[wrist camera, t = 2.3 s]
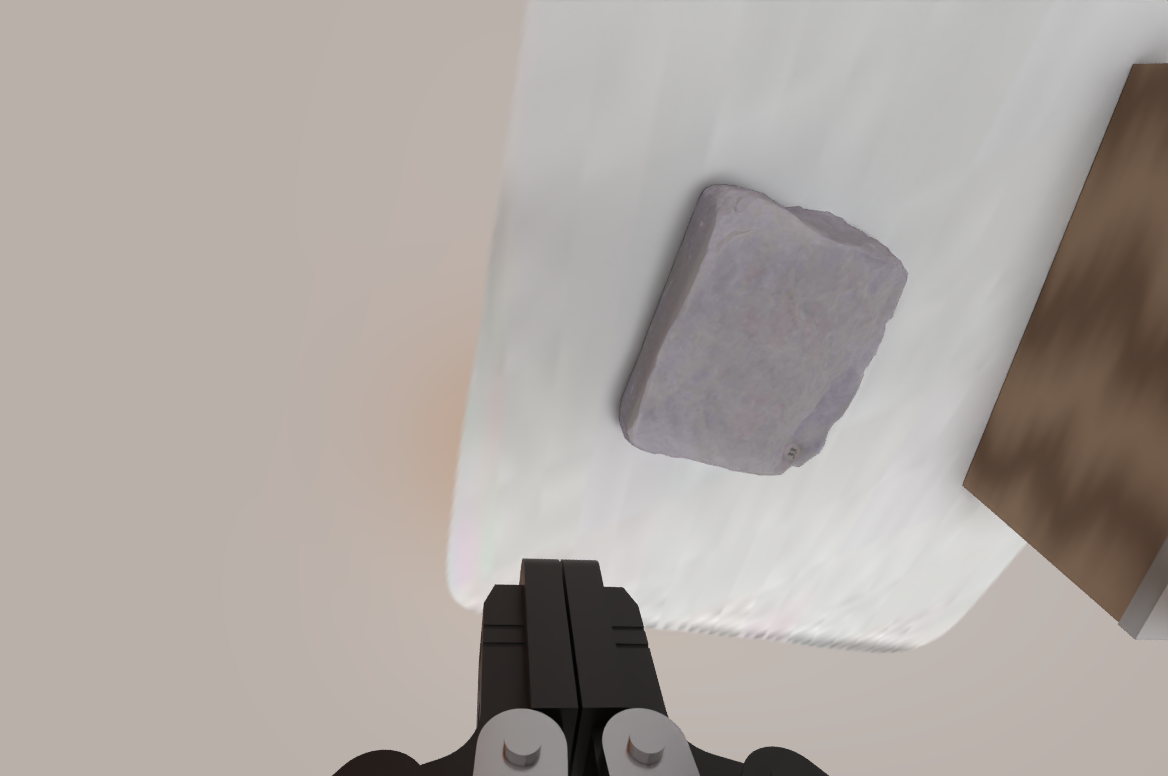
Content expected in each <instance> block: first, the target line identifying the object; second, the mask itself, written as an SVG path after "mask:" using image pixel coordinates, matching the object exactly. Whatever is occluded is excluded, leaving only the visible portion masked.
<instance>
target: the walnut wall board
mask: <svg viewBox="0 0 1168 776" xmlns="http://www.w3.org/2000/svg"><path fill="white" fill-rule="evenodd" d="M963 486H964V487H965V488H966V489H967V490H968V491H970V492H971V493H972V494H973V495H974V496H975V497H976V498H977V499H979V500H980V501H981V502H982V503H983V504H984V505H985V506H987V507H988V508H989V509H990V510H991V511H992V512H993V513H995V514H996V515H997V516H998V517H999V518H1000V519H1001V520H1003V521H1004V522H1005V523H1006V524H1007V525H1008V526H1009V527H1011V528H1012V529H1013V530H1014V531H1015V532H1016V533H1017V534H1019V535H1020V536H1021V537H1022V538H1023V539H1024V540H1025V541H1027V542H1028V543H1029V544H1030V545H1031V546H1032V547H1033V548H1035V549H1036V550H1037V551H1038V552H1039V553H1040V554H1041V555H1043V556H1044V557H1045V558H1046V559H1047V560H1048V561H1049V562H1051V563H1052V564H1053V565H1054V566H1055V567H1056V568H1058V570H1060V571H1061V572H1062V573H1063V574H1064V575H1065V576H1066V577H1068V578H1069V579H1070V580H1071V581H1072V582H1073V583H1075V584H1076V585H1077V586H1078V587H1079V588H1080V589H1081V590H1083V591H1084V592H1085V593H1086V594H1087V595H1088V596H1089V597H1090V598H1092V599H1093V600H1094V601H1095V602H1096V603H1097V604H1099V605H1100V606H1101V607H1102V608H1103V609H1104V610H1105V611H1107V612H1108V613H1109V614H1110V615H1111V616H1112V617H1113V618H1114V619H1116V620H1117V621H1118V622H1119V623H1118V625H1119V626H1120V627H1121V628H1123V629H1124V630H1125V631H1126V632H1127V633H1128V634H1129V635H1130V636H1132V637H1133V638H1134V639H1135V640H1168V63H1163V64H1134V65H1133V67H1132V70H1131V72H1130V74H1129V77H1128V79H1127V82H1126V84H1125V87H1124V89H1123V92H1122V94H1121V97H1120V99H1119V102H1118V104H1117V107H1116V109H1115V111H1114V114H1113V116H1112V119H1111V121H1110V124H1109V126H1108V129H1107V131H1106V134H1105V136H1104V139H1103V141H1102V143H1101V146H1100V148H1099V151H1098V153H1097V156H1096V158H1095V161H1094V163H1093V166H1092V168H1091V171H1090V173H1089V175H1088V178H1087V180H1086V183H1085V185H1084V188H1083V190H1082V193H1081V195H1080V198H1079V200H1078V203H1077V205H1076V208H1075V210H1074V212H1073V215H1072V217H1071V220H1070V222H1069V225H1068V227H1067V230H1066V232H1065V235H1064V237H1063V240H1062V242H1061V244H1060V247H1059V249H1058V252H1057V254H1056V257H1055V259H1054V262H1053V264H1052V267H1051V269H1050V272H1049V274H1048V276H1047V279H1046V281H1045V284H1044V286H1043V289H1042V291H1041V294H1040V296H1039V299H1038V301H1037V304H1036V306H1035V309H1034V311H1033V313H1032V316H1031V318H1030V321H1029V323H1028V326H1027V328H1026V331H1025V333H1024V336H1023V338H1022V341H1021V343H1020V345H1019V348H1018V350H1017V353H1016V355H1015V358H1014V360H1013V363H1012V365H1011V368H1010V370H1009V373H1008V375H1007V377H1006V380H1005V382H1004V385H1003V387H1002V390H1001V392H1000V395H999V397H998V400H997V402H996V405H995V407H994V410H993V412H992V414H991V417H990V419H989V422H988V424H987V427H986V429H985V432H984V434H983V437H982V439H981V442H980V444H979V446H978V449H977V451H976V454H975V456H974V459H973V461H972V464H971V466H970V469H969V471H968V474H967V476H966V478H965V481H964V483H963Z"/></svg>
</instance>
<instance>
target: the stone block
mask: <svg viewBox="0 0 1168 776" xmlns="http://www.w3.org/2000/svg"><path fill="white" fill-rule="evenodd" d="M907 275H908V273H907V271H906V270H905V269H904V266H903V264H902V263H901V261H900V260H899V259H898V258H896V257H895V256H894V255H893V254H892V253H891V252H890V251H889V249H888V248H887V247H885V246H884V245H882V244H881V243H880V242H878V241H877V240H876V239H873V238H871V237H869V236H867V235H866V234H865V233H863V232H862V231H860V230H858V229H856V228H854V227H851V226H850V225H848V224H847V223H846V222H845V221H844V220H843V219H842V218H840V217H837V216H835V215H833V214H831V213H830V212H827V211H826V212H822V211H815V210H808V209H803V208H802V207H800V206H796V207H783V206H781V205H779V204H777V203H776V202H775V201H773V200H771V199H770V198H769V197H768V196H767V195H765V194H763V193H760V192H757V191H754V190H749V189H745V188H741V187H737V186H734V185H712V186H710V187H708V188H706V189H705V190H704V192H703V193H702V195H701V196H700V198H699V200H698V203H697V206H696V208H695V210H694V212H693V214H692V217H691V220H690V223H689V225H688V228H687V231H686V234H685V237H684V240H683V242H682V244H681V247H680V249H679V252H678V254H677V257H676V260H675V262H674V265H673V268H672V270H671V273H670V276H669V278H668V281H667V283H666V286H665V288H664V291H663V293H662V296H661V299H660V302H659V304H658V307H657V310H656V312H655V315H654V317H653V320H652V322H651V325H650V327H649V330H648V333H647V335H646V338H645V341H644V344H643V347H642V350H641V352H640V355H639V357H638V360H637V362H636V365H635V367H634V370H633V372H632V374H631V377H630V379H629V382H628V384H627V387H626V390H625V392H624V395H623V397H622V401H621V407H620V414H619V421H620V425H621V428H622V431H623V434H624V437H625V438H626V439H627V440H628V441H629V442H630V443H631V444H632V445H633V446H635V447H637V448H639V449H641V450H644V451H646V452H649V453H653V454H664V455H667V456H670V457H677V458H686V459H690V460H694V461H699V462H702V463H706V464H710V465H715V466H719V467H723V468H726V469H729V470H732V471H738V472H745V473H751V474H756V475H772V476H774V475H781V474H783V473H784V472H785V471H786V470H787V469H789V468H790V467H791V466H795V467H800V466H802V465H803V464H804V463H806V462H807V461H808V460H809V459H811V458H812V457H814V456H815V455H817V454H819V453H820V451H821V450H822V448H823V447H824V444H825V441H826V437H827V434H828V431H829V430H830V428H831V427H832V425H833V424H834V423H835V422H836V421H837V420H839V419H840V418H841V417H842V416H843V414H844V413H845V411H846V409H847V408H848V406H849V405H850V403H851V401H852V399H853V398H854V396H855V394H856V392H857V390H858V388H859V385H860V383H861V380H862V378H863V376H864V374H863V371H864V370H865V369H866V367H867V366H868V365H869V363H870V362H871V360H872V358H873V357H874V356H875V355H876V352H877V349H878V346H879V344H880V342H881V340H882V338H883V335H884V330H885V324H886V323H887V321H888V320H889V319H891V318H892V317H893V313H894V310H895V308H896V306H897V303H898V301H899V298H900V296H901V294H902V291H903V288H904V286H905V284H906V281H907Z"/></svg>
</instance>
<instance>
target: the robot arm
mask: <svg viewBox="0 0 1168 776" xmlns="http://www.w3.org/2000/svg"><path fill="white" fill-rule="evenodd" d="M477 704H478V705H477V728H476V730H475V732H474V734H473V735H472V737H471V738H470V739H469V740H468V741H467V743H465V745H464V746H462V747H461V748H460V749H458V750H457V751H455V752H453V753H452V754H450V755H448V756H446V757H443V758H441V759H438V760H435V761H431V762H428V763H425V764H422V765H419V764H418V763H417V762H416V761H415V760H414V759H413V758H411V757H410V756H408V755H406V754H404V753H401V752H398V751H393V750H377V751H371V752H368V753H365V754H362V755H360V756H357V757H356V758H354V759H352V760H350V761H349V762H348V763H346V764H345V765H344V766H342V767H341V768H340V769H339V770H338V771H337V772H336V773H335V774H334V775H332V776H829V775H827V774H826V773H825V772H823V771H822V770H821V769H819V768H818V767H817V766H816V765H814V764H813V763H812V762H810V761H809V760H808V759H806V758H805V757H803V756H802V755H800V754H798V753H796V752H794V751H791V750H789V749H785V748H781V747H764V748H760V749H757V750H755V751H754V752H752V753H751V754H750V755H749V756H748V757H747V759H746V760H745V762H744V763H741V762H737V761H734V760H731V759H727V758H724V757H720V756H717V755H713V754H711V753H708V752H705V751H703V750H701V749H699V748H697V747H695V746H694V745H692V744H691V743H689V742H688V741H687V740H686V737H685V736H684V734H683V732H682V731H681V729H680V728H679V727H678V726H677V725H676V724H675V723H674V722H673V721H672V720H671V719H669V718H668V715H667V712H666V709H665V705H664V701H663V697H662V694H661V690H660V686H659V682H658V679H657V675H656V671H655V667H654V664H653V660H652V656H651V652H650V649H649V648H648V641H647V637H646V633H645V631H644V626H643V622H642V618H641V615H640V611H639V607H638V605H637V604H636V603H635V601H634V600H633V599H632V598H631V596H630V595H629V594H628V593H627V592H626V590H625V589H624V588H623V587H604V586H603V581H602V576H601V571H600V567H599V563H598V561H596V560H563V559H562V560H561V561H559V560H558V559H524V558H523V559H522V564H521V572H520V582H519V585H496V584H495V586H494V587H493V589H492V591H491V592H490V594H489V595H488V597H487V599H486V600H485V602H484V607H483V620H482V631H481V643H480V655H479V674H478V702H477Z"/></svg>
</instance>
